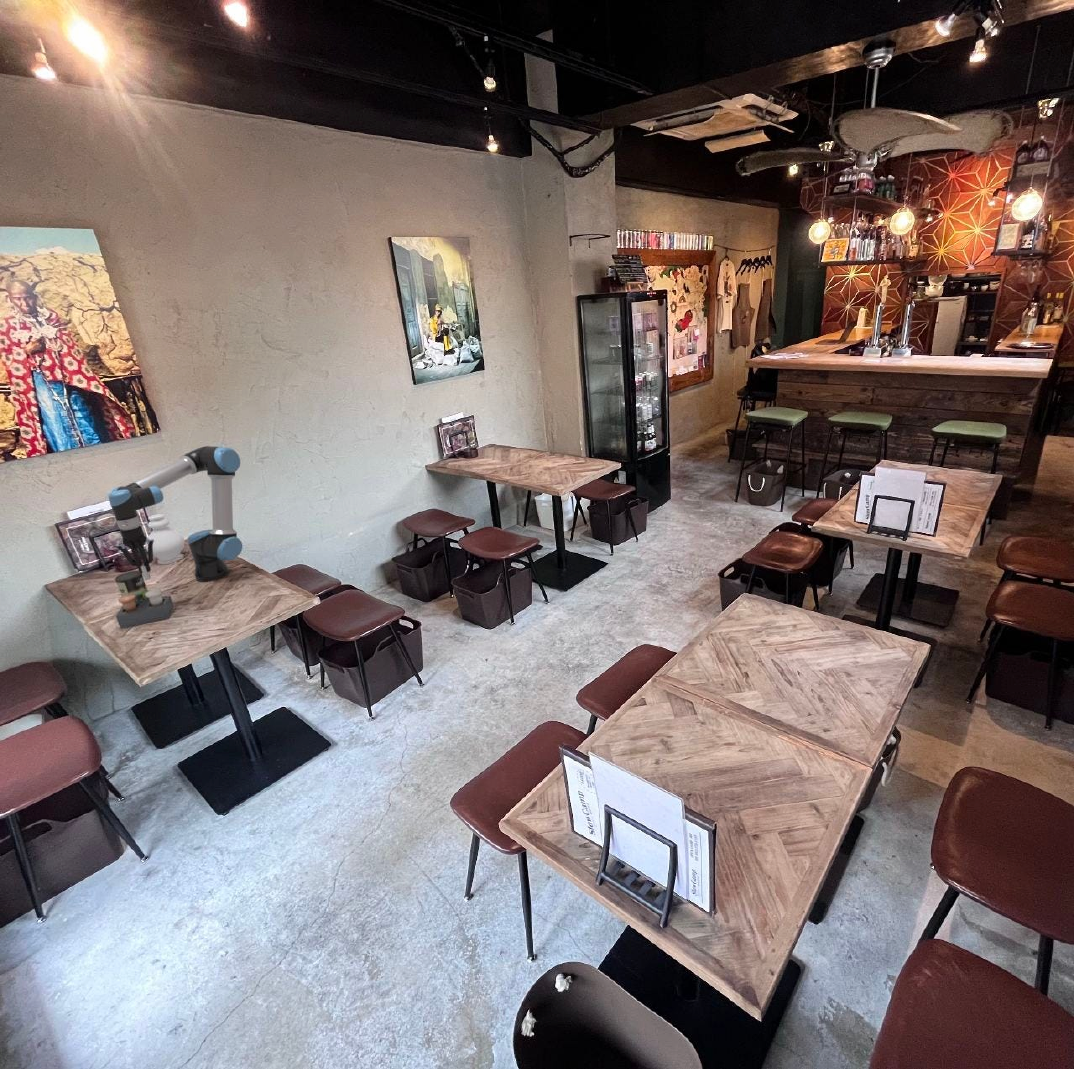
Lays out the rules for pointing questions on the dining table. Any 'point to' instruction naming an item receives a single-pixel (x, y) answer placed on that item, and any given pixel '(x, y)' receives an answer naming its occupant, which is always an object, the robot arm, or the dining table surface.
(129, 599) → the terracotta plunger
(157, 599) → the cream plunger
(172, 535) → the decorative vase
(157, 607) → the plunger block
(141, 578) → the coffee can
